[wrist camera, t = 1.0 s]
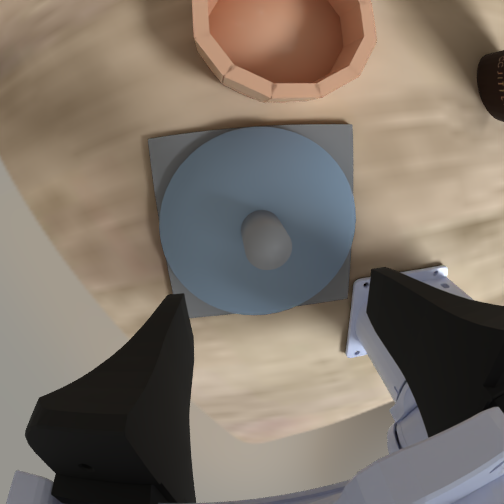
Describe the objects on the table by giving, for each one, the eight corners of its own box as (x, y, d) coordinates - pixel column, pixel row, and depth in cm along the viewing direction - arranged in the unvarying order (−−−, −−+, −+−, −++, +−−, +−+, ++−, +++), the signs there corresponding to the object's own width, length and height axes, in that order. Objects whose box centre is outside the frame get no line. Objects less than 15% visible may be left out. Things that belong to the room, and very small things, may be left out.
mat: (349, 124, 19) (352, 124, 19) (345, 295, 24) (347, 298, 24) (149, 138, 18) (147, 139, 18) (179, 315, 23) (178, 318, 23)
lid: (352, 124, 19) (379, 126, 15) (347, 298, 24) (366, 326, 20) (148, 139, 18) (132, 142, 14) (178, 318, 23) (173, 351, 20)
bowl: (339, -23, 15) (362, -44, 11) (353, 103, 19) (381, 100, 15) (194, -25, 14) (190, -53, 11) (202, 108, 18) (198, 104, 14)
